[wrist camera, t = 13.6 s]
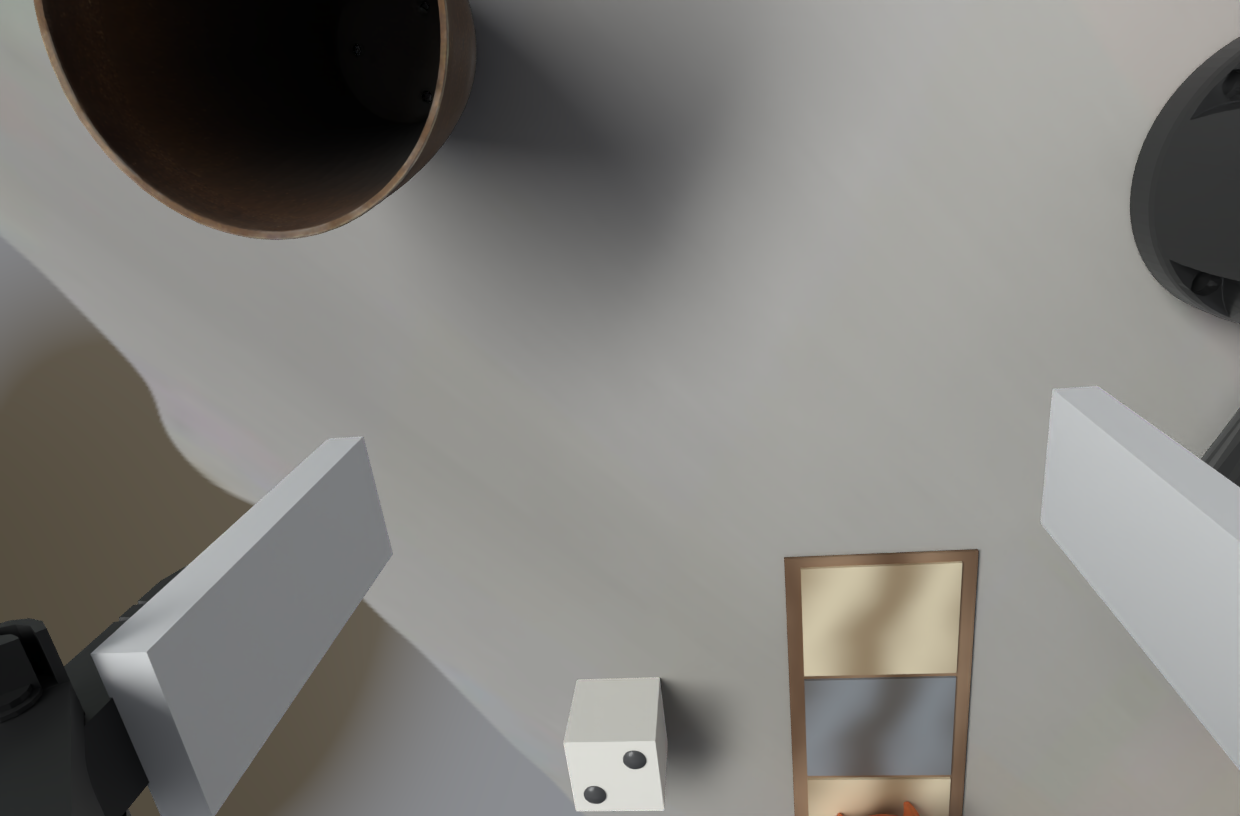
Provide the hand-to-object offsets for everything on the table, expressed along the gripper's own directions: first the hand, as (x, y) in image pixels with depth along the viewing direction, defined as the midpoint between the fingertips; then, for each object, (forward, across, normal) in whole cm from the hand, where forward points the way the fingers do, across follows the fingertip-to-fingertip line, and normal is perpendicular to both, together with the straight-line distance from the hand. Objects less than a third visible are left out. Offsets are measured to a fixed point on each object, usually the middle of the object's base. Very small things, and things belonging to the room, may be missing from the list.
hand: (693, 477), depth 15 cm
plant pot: (+31, -15, +11) cm, 36 cm away
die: (+31, -8, -34) cm, 47 cm away
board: (+31, +10, -40) cm, 51 cm away
